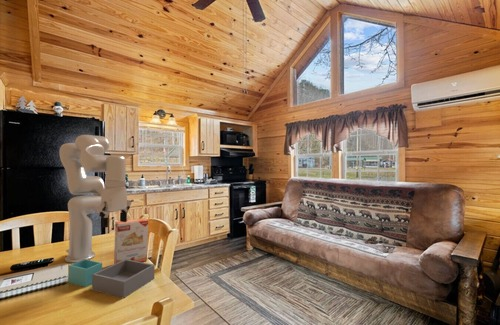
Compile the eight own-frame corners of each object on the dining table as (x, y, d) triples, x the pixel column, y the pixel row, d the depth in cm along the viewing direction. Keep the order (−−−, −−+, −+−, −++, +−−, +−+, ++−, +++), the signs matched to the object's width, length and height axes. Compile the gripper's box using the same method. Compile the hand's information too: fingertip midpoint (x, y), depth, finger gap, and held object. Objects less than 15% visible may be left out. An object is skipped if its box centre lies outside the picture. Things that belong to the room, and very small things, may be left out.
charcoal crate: (91, 289, 94) (92, 274, 94) (125, 272, 109) (125, 259, 109) (123, 298, 89) (124, 281, 89) (154, 278, 104) (154, 264, 104)
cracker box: (116, 268, 113) (117, 223, 113) (113, 264, 117) (114, 221, 117) (147, 261, 121) (148, 219, 122) (144, 257, 126) (145, 217, 126)
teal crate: (68, 282, 99) (68, 265, 99) (84, 275, 106) (85, 259, 106) (85, 287, 96) (86, 269, 96) (101, 279, 102) (102, 262, 102)
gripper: (124, 182, 113) (123, 219, 113) (90, 185, 97) (89, 228, 97) (137, 183, 111) (136, 220, 111) (104, 186, 95) (103, 230, 95)
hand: (114, 224), depth 104 cm, fingers open, 9 cm apart
